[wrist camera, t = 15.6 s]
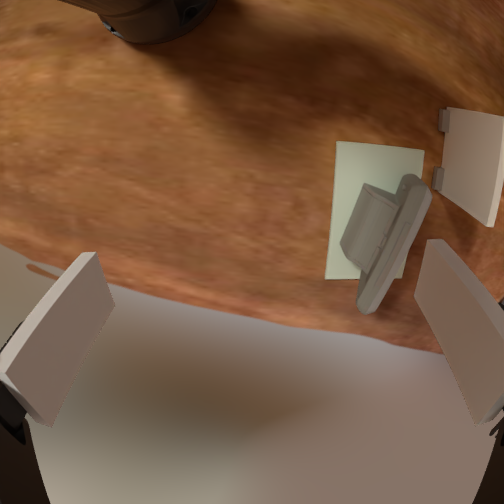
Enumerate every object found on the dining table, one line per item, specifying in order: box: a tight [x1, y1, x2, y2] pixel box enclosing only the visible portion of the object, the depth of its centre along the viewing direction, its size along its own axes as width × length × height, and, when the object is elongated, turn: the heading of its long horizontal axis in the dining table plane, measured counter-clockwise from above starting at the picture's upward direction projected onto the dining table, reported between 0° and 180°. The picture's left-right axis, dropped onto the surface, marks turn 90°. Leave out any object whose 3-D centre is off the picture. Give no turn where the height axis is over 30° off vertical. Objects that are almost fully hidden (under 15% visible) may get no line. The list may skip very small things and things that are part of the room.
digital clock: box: [339, 174, 432, 315], centre depth 33 cm, size 16×9×11 cm, turn 153°
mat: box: [325, 141, 425, 279], centre depth 38 cm, size 19×12×1 cm, turn 1°
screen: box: [431, 107, 504, 227], centre depth 28 cm, size 12×4×12 cm, turn 1°
